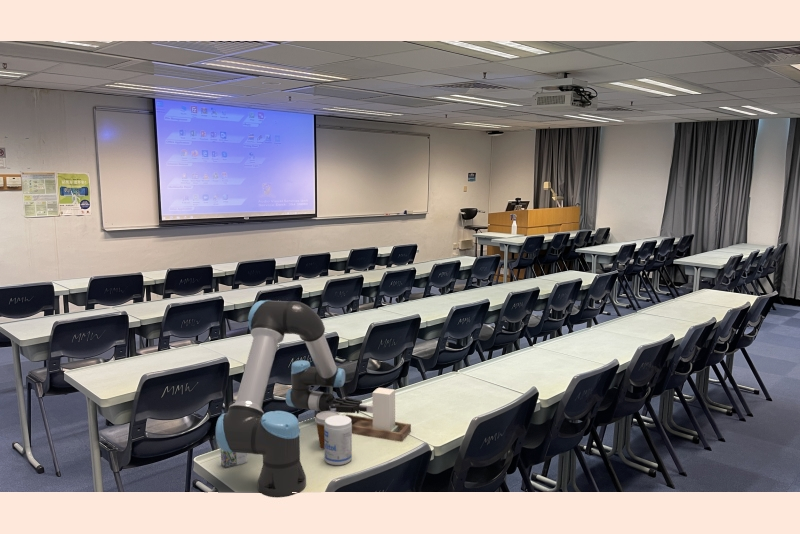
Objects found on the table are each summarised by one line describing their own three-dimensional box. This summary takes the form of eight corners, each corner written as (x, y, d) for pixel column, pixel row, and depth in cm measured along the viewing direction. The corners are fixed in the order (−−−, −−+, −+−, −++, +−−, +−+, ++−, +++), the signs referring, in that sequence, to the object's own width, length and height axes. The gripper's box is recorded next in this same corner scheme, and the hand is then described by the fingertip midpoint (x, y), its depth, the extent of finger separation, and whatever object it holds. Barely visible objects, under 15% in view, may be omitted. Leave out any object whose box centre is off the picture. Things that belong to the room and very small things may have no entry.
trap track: (335, 430, 229) (335, 423, 228) (346, 421, 238) (346, 414, 238) (401, 441, 219) (401, 434, 218) (410, 431, 228) (410, 424, 228)
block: (372, 429, 225) (372, 392, 223) (378, 423, 230) (378, 387, 228) (389, 432, 222) (389, 394, 220) (395, 426, 228) (395, 389, 226)
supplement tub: (319, 462, 202) (318, 422, 200) (334, 451, 211) (333, 412, 209) (342, 468, 198) (341, 427, 196) (357, 457, 206) (356, 417, 204)
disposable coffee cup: (310, 448, 213) (309, 417, 211) (325, 438, 221) (324, 408, 220) (331, 454, 209) (331, 422, 207) (346, 443, 217) (345, 413, 215)
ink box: (247, 462, 202) (245, 422, 200) (224, 468, 198) (222, 427, 196) (243, 458, 205) (242, 419, 203) (221, 464, 201) (219, 424, 199)
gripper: (329, 405, 242) (381, 412, 234) (314, 416, 230) (368, 424, 222) (329, 387, 241) (381, 394, 233) (313, 398, 229) (368, 406, 221)
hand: (375, 409), depth 227 cm, fingers closed
